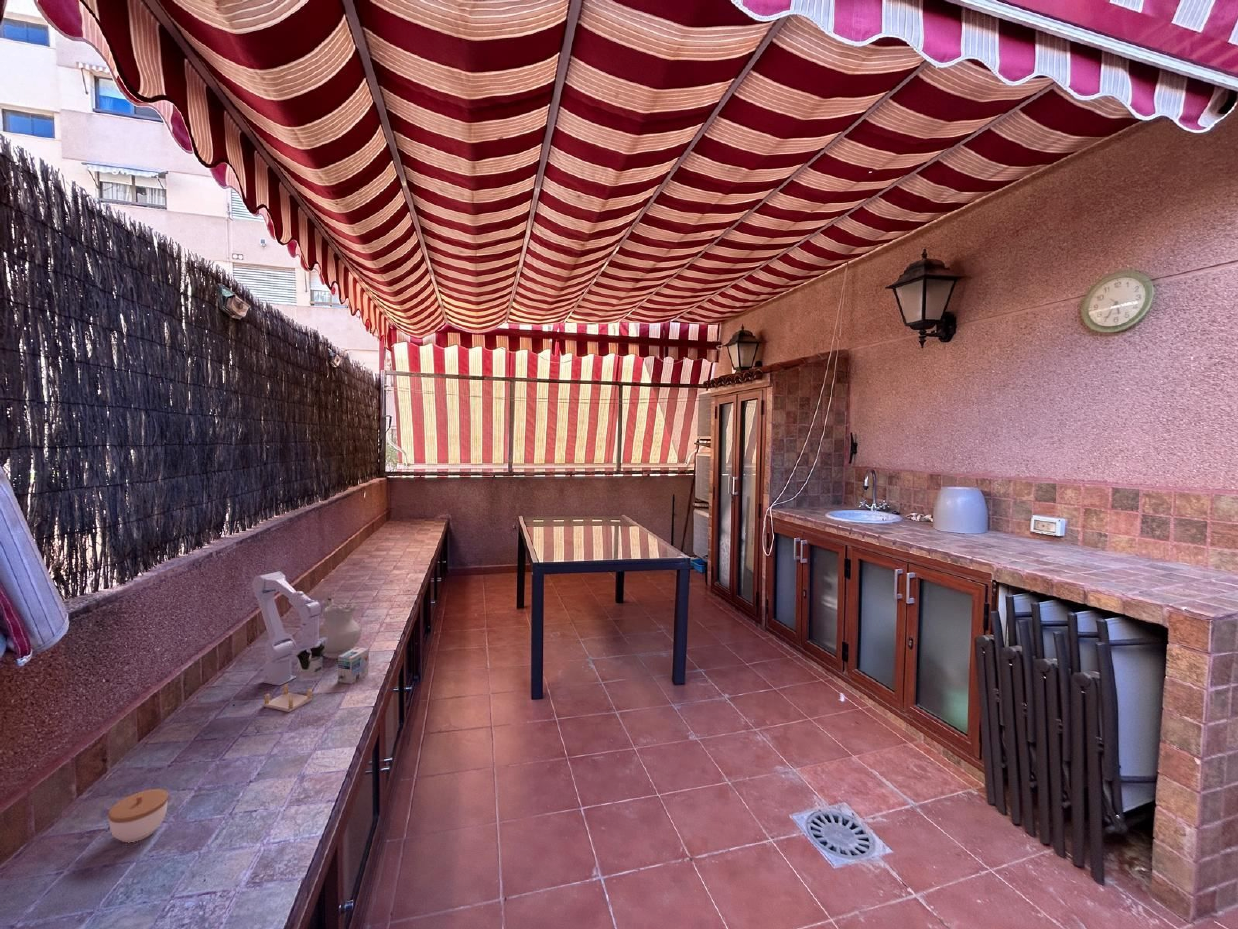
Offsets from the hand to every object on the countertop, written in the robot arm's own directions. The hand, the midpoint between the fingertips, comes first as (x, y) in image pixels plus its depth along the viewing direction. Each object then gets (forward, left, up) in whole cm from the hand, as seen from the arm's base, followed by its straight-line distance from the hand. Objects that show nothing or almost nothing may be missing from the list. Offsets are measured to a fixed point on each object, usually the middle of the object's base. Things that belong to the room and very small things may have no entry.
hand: (309, 666), depth 204 cm
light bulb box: (+9, +13, -9) cm, 18 cm away
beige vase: (-18, +31, -9) cm, 37 cm away
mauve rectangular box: (0, 0, -2) cm, 2 cm away
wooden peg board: (+3, -12, -8) cm, 15 cm away
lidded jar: (+26, -73, -9) cm, 78 cm away
